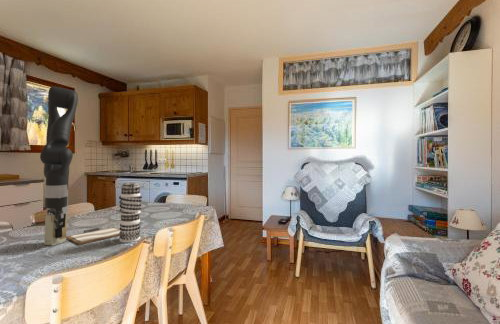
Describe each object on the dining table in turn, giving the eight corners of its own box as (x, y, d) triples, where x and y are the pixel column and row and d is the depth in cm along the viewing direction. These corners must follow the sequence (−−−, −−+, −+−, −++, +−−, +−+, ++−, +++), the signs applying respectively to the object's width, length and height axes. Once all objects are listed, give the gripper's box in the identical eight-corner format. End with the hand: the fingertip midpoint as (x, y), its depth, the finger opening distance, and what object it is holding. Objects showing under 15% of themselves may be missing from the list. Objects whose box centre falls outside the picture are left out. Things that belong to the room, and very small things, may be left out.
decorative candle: (129, 243, 107) (130, 184, 106) (113, 240, 110) (114, 183, 110) (145, 237, 115) (146, 182, 115) (130, 235, 119) (131, 181, 118)
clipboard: (66, 238, 112) (66, 233, 112) (112, 228, 128) (112, 224, 128) (79, 245, 104) (79, 240, 104) (127, 234, 120) (127, 229, 120)
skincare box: (52, 246, 102) (53, 215, 102) (43, 245, 103) (44, 215, 103) (67, 241, 108) (67, 212, 108) (58, 240, 109) (59, 211, 109)
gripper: (39, 194, 106) (39, 234, 107) (51, 198, 98) (50, 242, 98) (60, 193, 112) (60, 231, 113) (73, 196, 104) (73, 237, 104)
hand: (55, 236), depth 105 cm, fingers closed on skincare box, 5 cm apart
